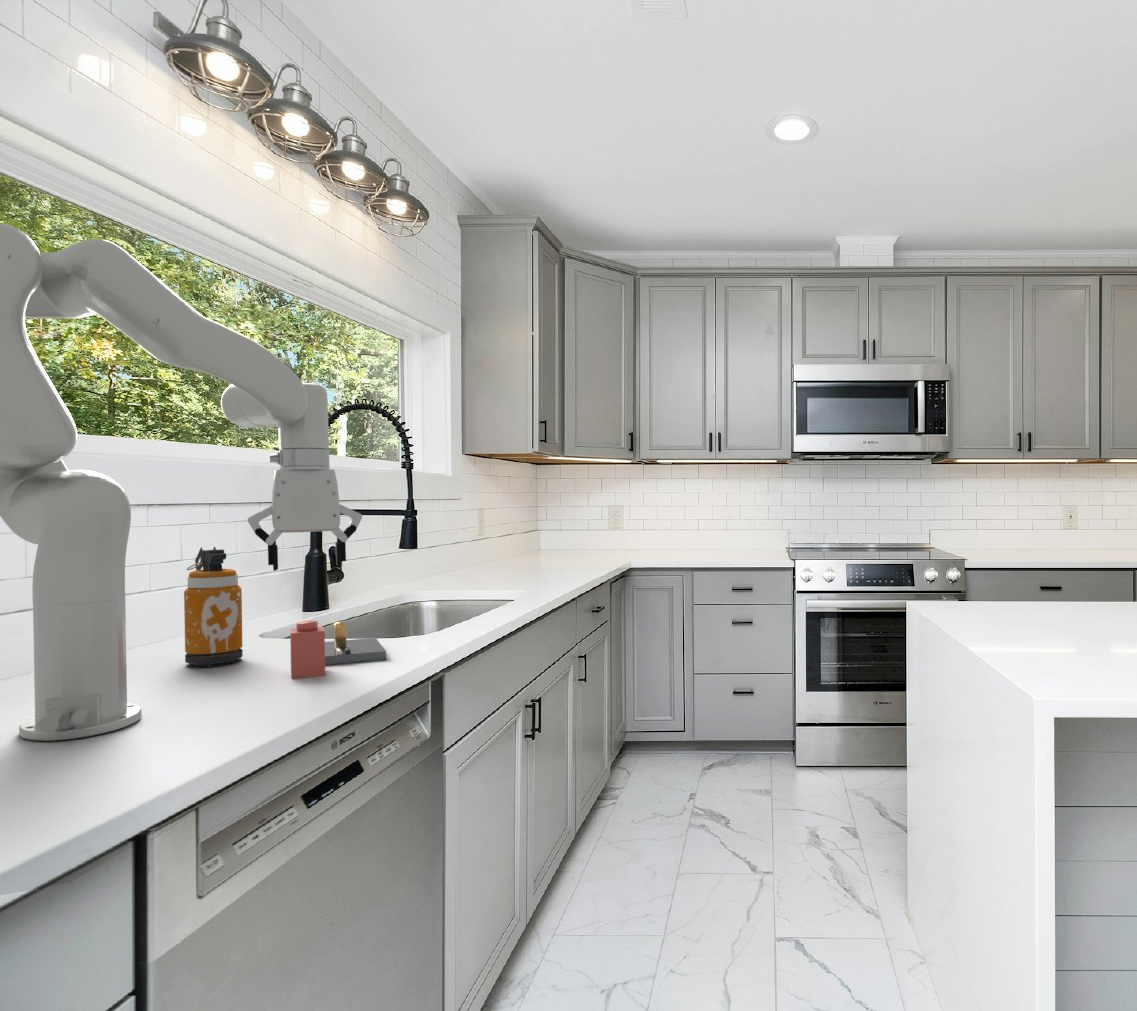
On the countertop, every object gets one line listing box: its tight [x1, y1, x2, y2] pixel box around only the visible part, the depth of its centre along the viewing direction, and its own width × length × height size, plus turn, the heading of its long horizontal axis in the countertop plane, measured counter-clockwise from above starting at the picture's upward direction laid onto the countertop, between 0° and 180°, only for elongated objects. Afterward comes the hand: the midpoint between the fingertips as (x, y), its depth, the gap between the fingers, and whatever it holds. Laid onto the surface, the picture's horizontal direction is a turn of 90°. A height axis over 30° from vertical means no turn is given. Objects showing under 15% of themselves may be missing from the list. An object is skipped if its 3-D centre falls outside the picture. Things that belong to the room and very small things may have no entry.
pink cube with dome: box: [289, 620, 326, 679], centre depth 117 cm, size 5×5×8 cm
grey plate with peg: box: [325, 621, 387, 666], centre depth 130 cm, size 14×14×6 cm
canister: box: [183, 546, 244, 668], centre depth 127 cm, size 9×11×20 cm
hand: (307, 567), depth 117 cm, fingers open, 9 cm apart
